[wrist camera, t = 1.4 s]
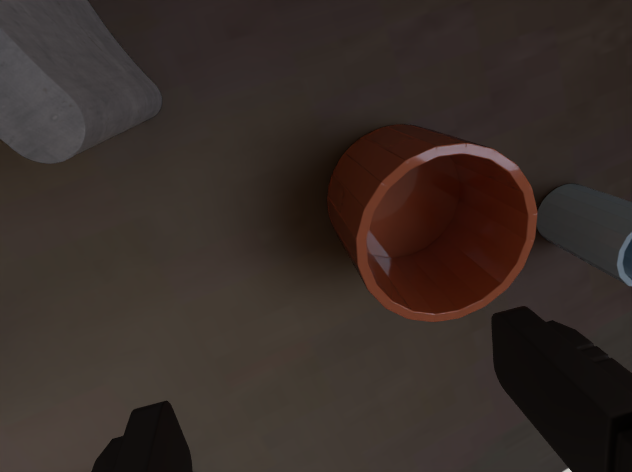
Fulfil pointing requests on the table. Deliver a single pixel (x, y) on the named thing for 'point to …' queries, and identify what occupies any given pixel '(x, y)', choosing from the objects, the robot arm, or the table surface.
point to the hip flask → (65, 80)
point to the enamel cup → (590, 228)
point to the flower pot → (431, 220)
